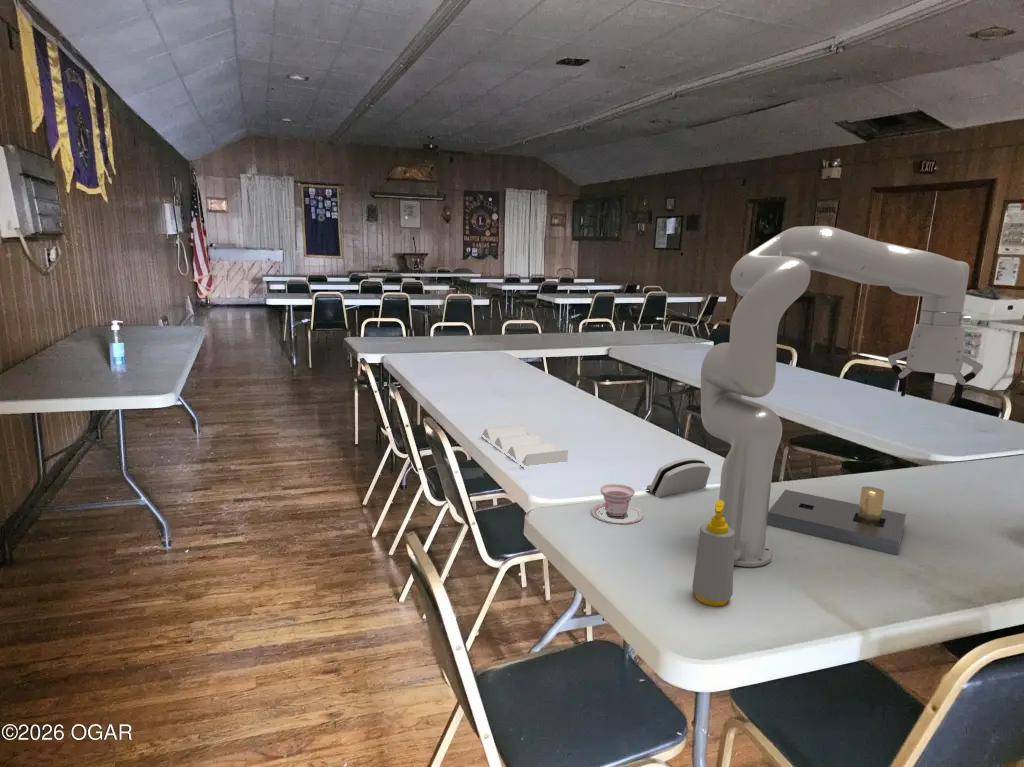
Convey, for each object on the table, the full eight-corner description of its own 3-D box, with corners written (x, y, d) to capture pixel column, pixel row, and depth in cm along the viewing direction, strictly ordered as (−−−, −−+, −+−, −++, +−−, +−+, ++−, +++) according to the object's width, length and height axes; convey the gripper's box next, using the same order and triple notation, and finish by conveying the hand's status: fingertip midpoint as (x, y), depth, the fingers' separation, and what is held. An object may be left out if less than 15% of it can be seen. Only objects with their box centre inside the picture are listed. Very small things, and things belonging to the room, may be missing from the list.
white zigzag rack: (517, 435, 221) (517, 420, 220) (567, 467, 190) (568, 449, 189) (480, 438, 216) (481, 423, 215) (525, 472, 184) (526, 454, 183)
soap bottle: (689, 603, 116) (697, 507, 112) (693, 585, 122) (701, 493, 119) (730, 611, 114) (740, 513, 110) (732, 592, 120) (741, 499, 116)
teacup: (582, 508, 158) (583, 483, 157) (626, 502, 162) (627, 478, 161) (606, 528, 147) (608, 502, 146) (653, 521, 151) (654, 495, 150)
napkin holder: (692, 481, 178) (704, 451, 173) (703, 492, 175) (716, 461, 170) (644, 491, 170) (655, 459, 165) (655, 503, 166) (667, 471, 162)
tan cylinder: (877, 538, 144) (883, 495, 142) (854, 533, 147) (860, 490, 145) (879, 531, 148) (885, 489, 146) (857, 527, 150) (862, 485, 148)
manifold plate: (897, 555, 136) (899, 541, 136) (766, 524, 151) (767, 512, 150) (904, 526, 151) (906, 514, 151) (784, 500, 165) (785, 489, 165)
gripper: (989, 321, 139) (976, 401, 142) (895, 315, 148) (885, 390, 152) (990, 324, 133) (976, 407, 136) (892, 318, 142) (881, 396, 145)
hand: (928, 398), depth 144 cm, fingers open, 9 cm apart
